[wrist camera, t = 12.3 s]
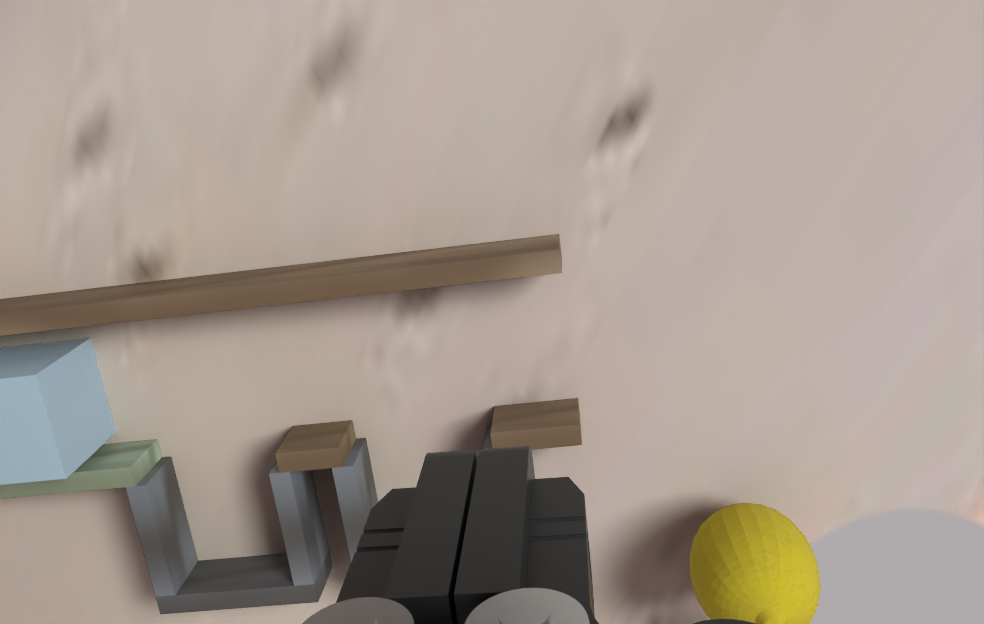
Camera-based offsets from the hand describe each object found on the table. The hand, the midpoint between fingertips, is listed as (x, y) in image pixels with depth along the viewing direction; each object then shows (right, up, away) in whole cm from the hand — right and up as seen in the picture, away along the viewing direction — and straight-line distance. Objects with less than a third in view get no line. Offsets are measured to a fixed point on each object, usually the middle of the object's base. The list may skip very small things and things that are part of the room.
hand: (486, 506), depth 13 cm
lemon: (+12, -8, +32) cm, 35 cm away
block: (-22, -1, +32) cm, 39 cm away
